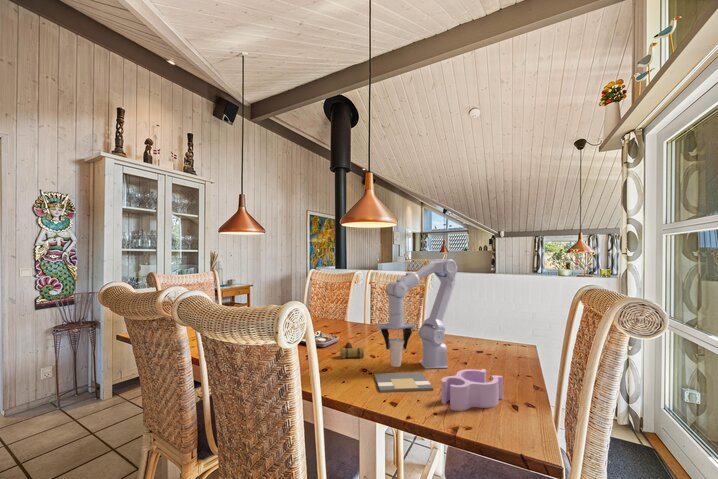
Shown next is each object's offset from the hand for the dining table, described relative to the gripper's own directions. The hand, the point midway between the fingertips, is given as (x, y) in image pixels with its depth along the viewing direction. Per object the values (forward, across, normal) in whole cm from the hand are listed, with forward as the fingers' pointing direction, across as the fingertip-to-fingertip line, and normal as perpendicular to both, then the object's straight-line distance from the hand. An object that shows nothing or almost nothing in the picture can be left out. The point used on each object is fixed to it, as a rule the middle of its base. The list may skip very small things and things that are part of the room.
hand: (396, 348), depth 123 cm
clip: (+9, -18, +25) cm, 32 cm away
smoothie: (+7, 0, 0) cm, 7 cm away
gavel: (+10, +16, -27) cm, 33 cm away
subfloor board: (+9, 0, +10) cm, 13 cm away
